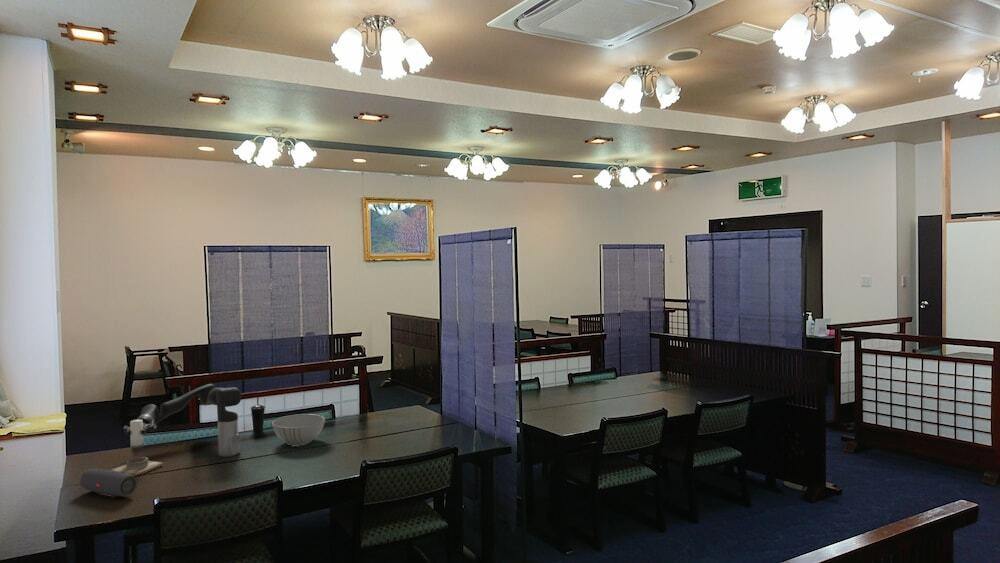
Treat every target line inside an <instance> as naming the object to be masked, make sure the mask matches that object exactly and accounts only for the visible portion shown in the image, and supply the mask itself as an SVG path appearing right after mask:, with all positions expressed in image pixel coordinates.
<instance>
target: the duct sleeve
mask: <svg viewBox="0 0 1000 563" xmlns="http://www.w3.org/2000/svg"><path fill="white" fill-rule="evenodd" d="M129 425H130V426H129V427H130V449H139V448H143V447H144V434H143V435H141V430H142V429H143V420H140V419H139V420H136V419H133V420H132V419H131V421H130V422H129Z"/></svg>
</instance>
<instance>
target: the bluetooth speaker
mask: <svg viewBox="0 0 1000 563" xmlns="http://www.w3.org/2000/svg"><path fill="white" fill-rule="evenodd" d="M79 482H80V486H81V488H83V489H86V490H88V491H90V492H91V491H92V492H94V493H97V494H98V493H101V494H106V495H111V496H118V497H129V496H131V495H132V494H133V493H134V492H135V491H136V489H137V487H138V480H137V478H136V477H134V476H132V475H129V474H125V473H121V472H116V471H111V469H103V468H89V469H87V470H85V471H84V473H82V475H81V478H80V481H79Z"/></svg>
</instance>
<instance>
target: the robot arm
mask: <svg viewBox="0 0 1000 563" xmlns="http://www.w3.org/2000/svg"><path fill="white" fill-rule="evenodd" d="M196 396H198V399H199V402H200V404H201V405H202V406H210V405H212V406H216V410H217V411H216V412H217V413H216V414H217V445H218V446H217V448H218V449H217V450H218V452H217V453H218V454H217V455H218V456H219V457H227V458H228V457H233V456H236V455H238V454H240V453H241V434H240V433H239V417H238V416H239V415H238V413H237V412H234V411H229V410H227V409H226V407H227V408H228V407H233V406H234V407H235V406H237V405H239V404H240V403H241V401H242V392H241V391H240V389H239V388H238V387H236V386H234V387H231V386H230V387H216V386H215V384H214V383H207V384H203V385H202V386H199V387H197V388H194V389H192V390H190V391H188V392H186V393H184V394H183V395H180V396H178V397H176V398H173V399H171V400H169V401H165V402H163V403H161V404H160V408H158V406H157V404H153V403H151V404H150V403H148V404H146V405H145V406H143V407H142V408H141V411H140V415H139V416H138V417H137V418H136V419H135V420H139V419H140V420H143V429H142V430H141V435H143V436H144V434H146V433H151V432H153V431H155V430H156V429H157V425H158V423H160V422H162V420H164V419H165V418H167V417H169V416H170V415H174V414H176V413H178V412H180V411H182V410H183V409H185V407H186V406H187V405H188V404H189V402H190V401H191V400H192V399H193V398H194V397H196ZM123 434H124V435H126V436H127V437H129V436H130V426H128V425H124V426H123Z"/></svg>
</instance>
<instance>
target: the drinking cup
mask: <svg viewBox="0 0 1000 563" xmlns="http://www.w3.org/2000/svg"><path fill="white" fill-rule="evenodd" d="M265 408H266V406H265V405H263V404H259V395H257V396H256V405H253V406H251V407H250V410H251V420H252V428H253V433H261V432H263V431H264V420H265Z"/></svg>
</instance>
